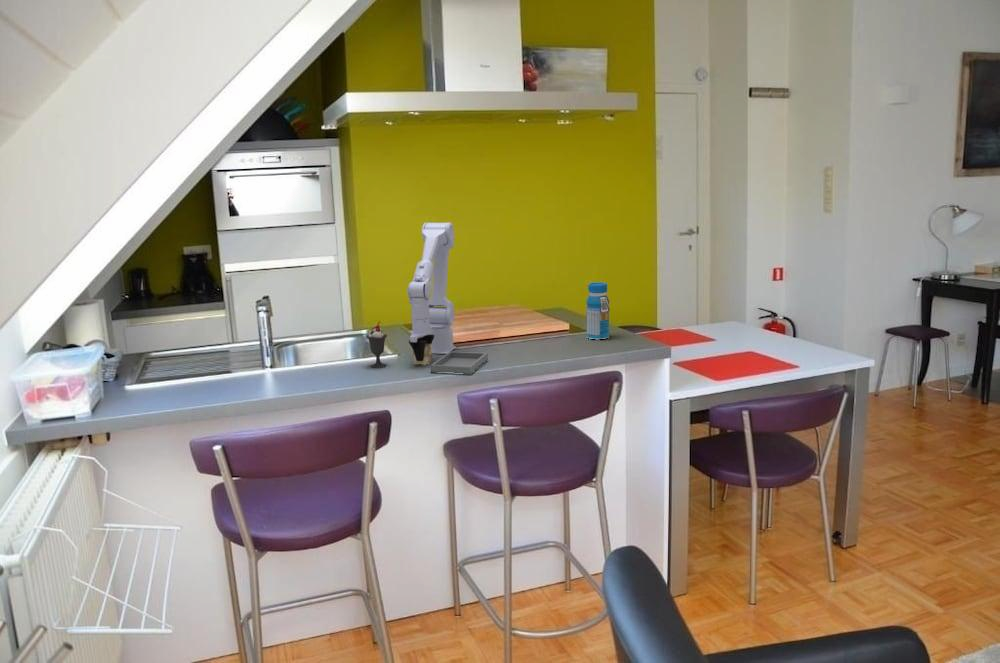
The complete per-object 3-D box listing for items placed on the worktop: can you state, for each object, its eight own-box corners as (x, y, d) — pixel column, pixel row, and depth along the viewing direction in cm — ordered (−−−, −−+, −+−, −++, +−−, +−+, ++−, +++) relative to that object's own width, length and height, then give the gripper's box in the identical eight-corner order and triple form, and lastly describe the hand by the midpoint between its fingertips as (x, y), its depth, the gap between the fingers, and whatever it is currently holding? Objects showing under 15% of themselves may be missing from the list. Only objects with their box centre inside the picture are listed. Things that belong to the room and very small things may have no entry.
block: (419, 361, 258) (418, 343, 257) (431, 361, 257) (431, 343, 256) (413, 364, 254) (413, 346, 253) (426, 365, 253) (426, 347, 252)
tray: (450, 358, 260) (450, 351, 260) (487, 360, 257) (487, 353, 256) (430, 373, 243) (430, 365, 243) (470, 375, 240) (470, 367, 239)
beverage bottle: (585, 340, 280) (585, 285, 276) (586, 335, 288) (586, 281, 284) (609, 340, 279) (609, 285, 275) (609, 335, 287) (609, 281, 283)
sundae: (385, 368, 250) (382, 322, 247) (365, 368, 251) (362, 322, 248) (391, 363, 256) (389, 318, 253) (372, 363, 257) (369, 318, 254)
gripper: (417, 313, 260) (419, 352, 263) (400, 322, 247) (402, 363, 250) (437, 313, 258) (439, 353, 261) (421, 322, 245) (423, 364, 248)
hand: (422, 358), depth 255 cm, fingers closed on block, 4 cm apart
